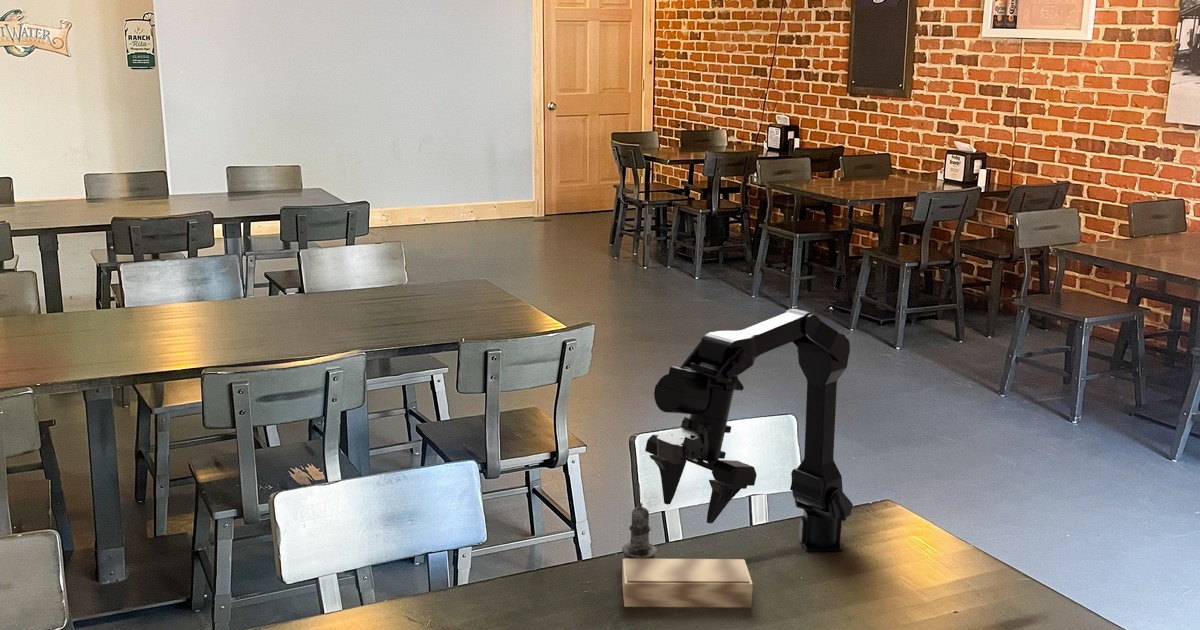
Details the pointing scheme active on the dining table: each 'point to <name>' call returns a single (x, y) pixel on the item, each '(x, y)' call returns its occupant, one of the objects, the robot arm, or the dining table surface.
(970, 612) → the dining table surface
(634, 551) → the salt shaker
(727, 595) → the tan wooden block
